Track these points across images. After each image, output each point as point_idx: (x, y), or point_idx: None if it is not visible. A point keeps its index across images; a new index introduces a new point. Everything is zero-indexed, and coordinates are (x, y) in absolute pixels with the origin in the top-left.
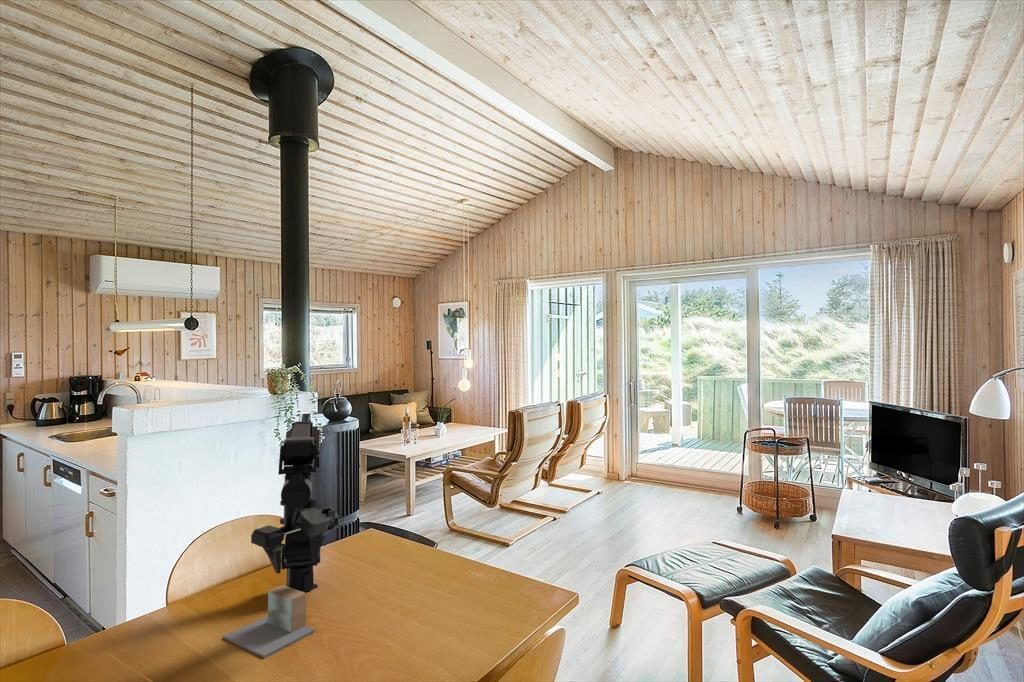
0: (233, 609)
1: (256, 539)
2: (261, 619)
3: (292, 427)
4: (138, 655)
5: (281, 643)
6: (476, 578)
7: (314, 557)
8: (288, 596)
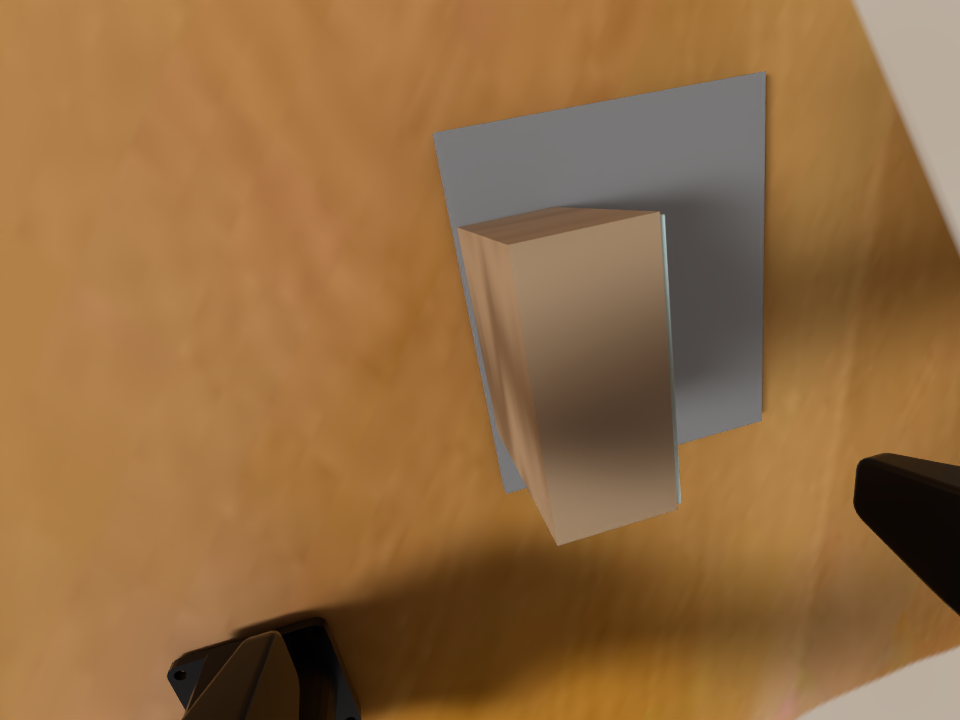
0: (595, 642)
1: None
2: None
3: None
4: None
5: (648, 126)
6: None
7: (273, 670)
8: (645, 296)
